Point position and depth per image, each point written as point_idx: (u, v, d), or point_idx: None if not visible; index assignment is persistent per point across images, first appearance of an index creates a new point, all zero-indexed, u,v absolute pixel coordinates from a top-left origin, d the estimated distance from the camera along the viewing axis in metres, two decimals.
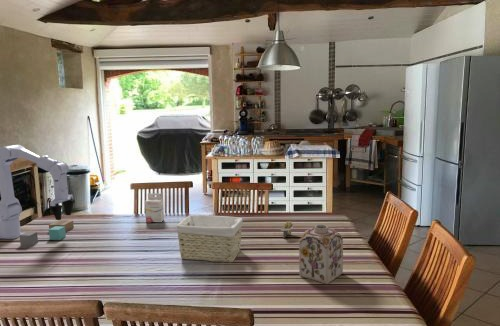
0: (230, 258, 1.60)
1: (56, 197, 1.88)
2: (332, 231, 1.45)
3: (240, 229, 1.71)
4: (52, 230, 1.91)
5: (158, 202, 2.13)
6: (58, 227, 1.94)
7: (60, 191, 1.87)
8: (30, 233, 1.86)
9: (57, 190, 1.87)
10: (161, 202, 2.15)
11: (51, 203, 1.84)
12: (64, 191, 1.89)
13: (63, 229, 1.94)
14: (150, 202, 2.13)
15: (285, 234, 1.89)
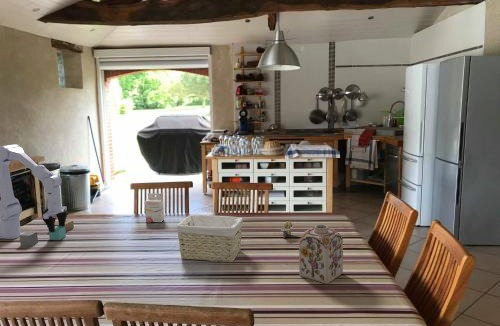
0: (230, 258, 1.60)
1: (49, 209, 1.90)
2: (332, 231, 1.45)
3: (240, 229, 1.71)
4: None
5: (158, 202, 2.13)
6: (58, 227, 1.94)
7: (53, 204, 1.89)
8: (30, 233, 1.86)
9: (50, 203, 1.89)
10: (161, 202, 2.15)
11: (44, 216, 1.85)
12: (57, 203, 1.90)
13: (63, 229, 1.94)
14: (150, 202, 2.13)
15: (285, 234, 1.89)
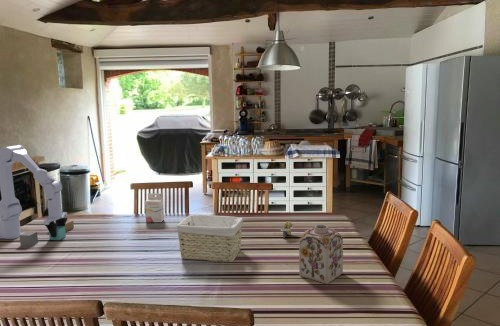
0: (230, 258, 1.60)
1: (50, 215, 1.90)
2: (332, 231, 1.45)
3: (240, 229, 1.71)
4: None
5: (158, 202, 2.13)
6: (58, 227, 1.94)
7: (54, 209, 1.89)
8: (30, 233, 1.86)
9: (51, 208, 1.89)
10: (161, 202, 2.15)
11: (45, 222, 1.86)
12: (58, 209, 1.91)
13: (63, 229, 1.94)
14: (150, 202, 2.13)
15: (285, 234, 1.89)
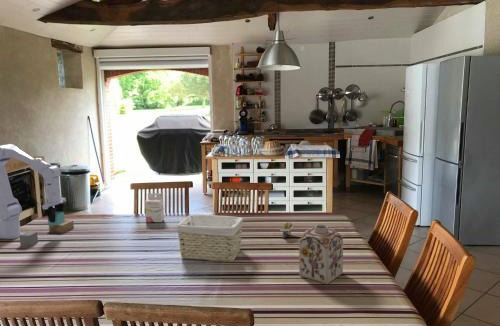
0: (230, 258, 1.60)
1: (49, 200, 1.89)
2: (332, 231, 1.45)
3: (240, 229, 1.71)
4: None
5: (158, 202, 2.13)
6: (57, 212, 1.94)
7: (53, 194, 1.89)
8: (30, 233, 1.86)
9: (50, 193, 1.89)
10: (161, 202, 2.15)
11: (43, 206, 1.85)
12: (57, 194, 1.90)
13: (62, 214, 1.94)
14: (150, 202, 2.13)
15: (285, 234, 1.88)
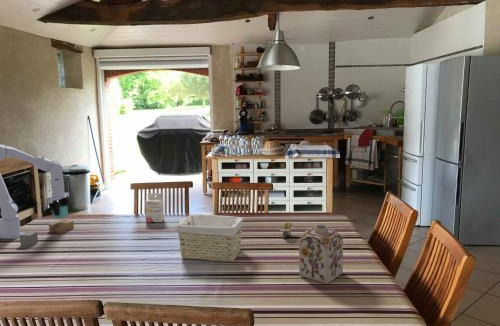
0: (230, 257, 1.60)
1: (53, 195, 2.02)
2: (332, 231, 1.45)
3: (240, 229, 1.71)
4: None
5: (158, 202, 2.13)
6: (61, 206, 2.06)
7: (57, 189, 2.01)
8: (30, 233, 1.86)
9: (54, 188, 2.01)
10: (161, 202, 2.15)
11: (48, 200, 1.97)
12: (61, 189, 2.02)
13: (66, 208, 2.06)
14: (150, 202, 2.13)
15: (285, 234, 1.88)
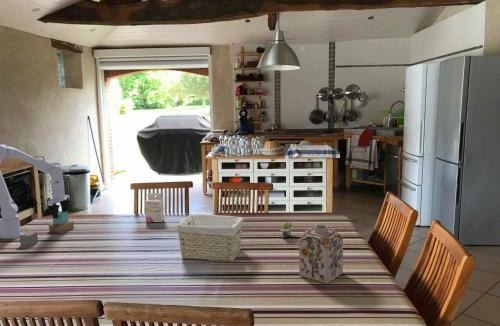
0: (230, 257, 1.60)
1: (53, 197, 2.02)
2: (332, 231, 1.45)
3: (240, 228, 1.71)
4: None
5: (158, 202, 2.13)
6: (61, 212, 2.06)
7: (57, 192, 2.01)
8: (30, 233, 1.86)
9: (54, 191, 2.01)
10: (161, 202, 2.15)
11: (49, 203, 1.98)
12: (61, 192, 2.02)
13: (66, 214, 2.06)
14: (150, 202, 2.13)
15: (284, 235, 1.88)
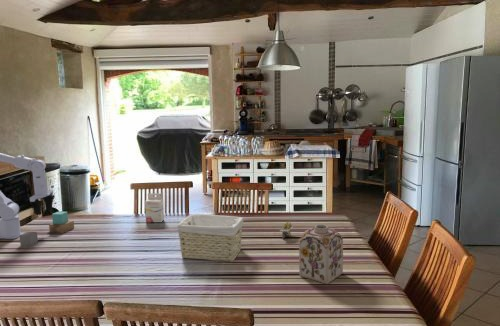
0: (231, 257, 1.60)
1: (36, 193, 1.96)
2: (332, 231, 1.45)
3: (241, 228, 1.72)
4: (55, 215, 2.03)
5: (158, 202, 2.13)
6: (61, 212, 2.06)
7: (39, 187, 1.96)
8: (30, 233, 1.86)
9: (37, 186, 1.96)
10: (161, 202, 2.15)
11: (31, 199, 1.92)
12: (43, 187, 1.97)
13: (65, 214, 2.07)
14: (150, 202, 2.13)
15: (284, 235, 1.88)
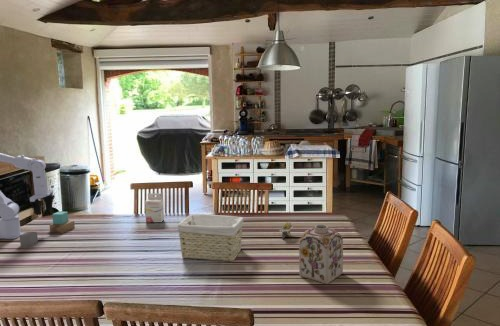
0: (231, 257, 1.61)
1: (36, 193, 1.96)
2: (332, 231, 1.45)
3: (241, 228, 1.72)
4: (55, 215, 2.03)
5: (158, 202, 2.13)
6: (61, 212, 2.06)
7: (39, 187, 1.96)
8: (30, 233, 1.86)
9: (37, 186, 1.96)
10: (161, 202, 2.15)
11: (31, 199, 1.92)
12: (43, 187, 1.97)
13: (66, 214, 2.07)
14: (150, 202, 2.13)
15: (284, 235, 1.88)
